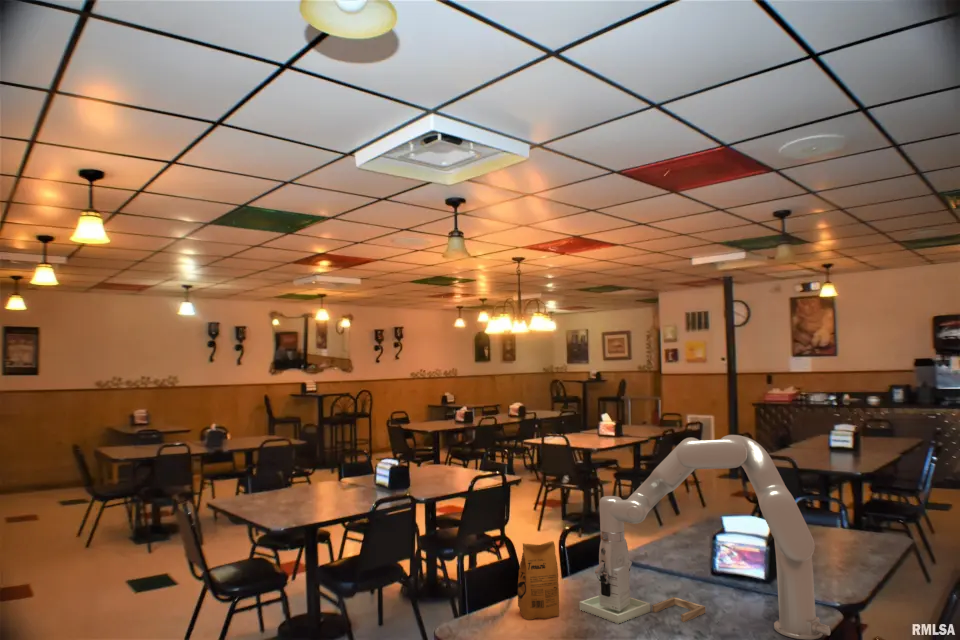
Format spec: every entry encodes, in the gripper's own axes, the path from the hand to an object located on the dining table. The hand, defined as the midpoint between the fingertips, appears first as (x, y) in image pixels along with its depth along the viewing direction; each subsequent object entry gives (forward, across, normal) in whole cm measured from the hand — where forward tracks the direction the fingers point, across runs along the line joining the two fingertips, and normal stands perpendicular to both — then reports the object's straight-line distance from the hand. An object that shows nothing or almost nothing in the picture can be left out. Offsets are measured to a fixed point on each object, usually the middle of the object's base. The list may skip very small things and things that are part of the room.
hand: (614, 592), depth 203 cm
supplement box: (+4, 0, 0) cm, 4 cm away
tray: (+6, 0, 0) cm, 6 cm away
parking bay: (+6, +14, -14) cm, 20 cm away
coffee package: (+6, -20, +14) cm, 25 cm away
